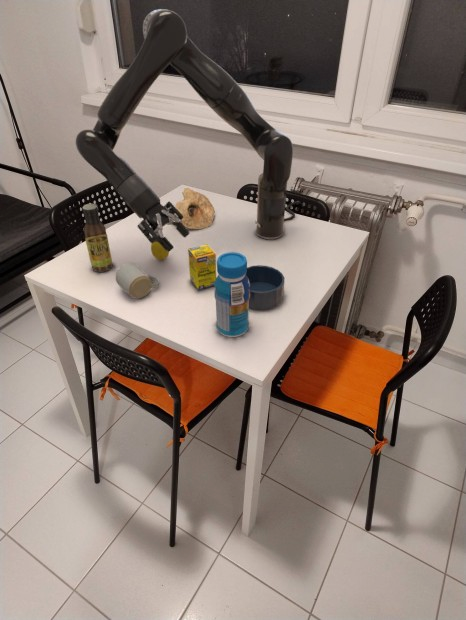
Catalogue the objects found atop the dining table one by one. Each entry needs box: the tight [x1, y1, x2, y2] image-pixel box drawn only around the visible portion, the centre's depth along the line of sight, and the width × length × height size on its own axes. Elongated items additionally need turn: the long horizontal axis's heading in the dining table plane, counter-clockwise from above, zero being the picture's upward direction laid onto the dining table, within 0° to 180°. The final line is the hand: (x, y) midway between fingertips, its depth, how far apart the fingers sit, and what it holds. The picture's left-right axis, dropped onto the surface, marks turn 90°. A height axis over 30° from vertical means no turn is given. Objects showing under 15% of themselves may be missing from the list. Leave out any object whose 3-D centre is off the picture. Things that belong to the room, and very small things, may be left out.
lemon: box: [150, 242, 170, 261], centre depth 123 cm, size 6×6×8 cm
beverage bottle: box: [213, 251, 250, 338], centre depth 94 cm, size 8×8×20 cm
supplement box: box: [187, 244, 217, 292], centre depth 112 cm, size 6×6×11 cm
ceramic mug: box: [115, 262, 160, 299], centre depth 110 cm, size 11×8×8 cm
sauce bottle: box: [82, 203, 113, 273], centre depth 116 cm, size 6×6×20 cm
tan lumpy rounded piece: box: [174, 187, 216, 230], centre depth 145 cm, size 18×14×8 cm
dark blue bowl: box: [246, 264, 286, 312], centre depth 108 cm, size 13×13×6 cm
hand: (179, 242), depth 110 cm, fingers open, 8 cm apart
